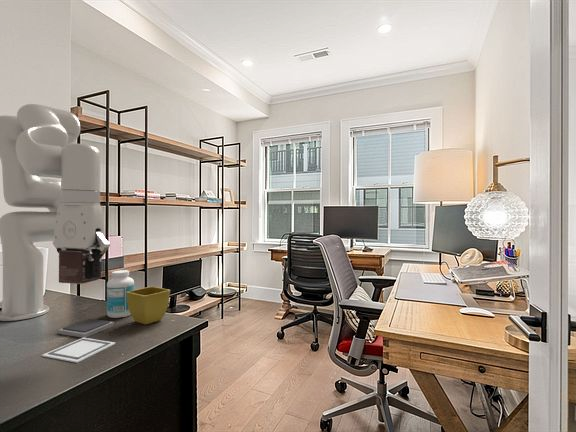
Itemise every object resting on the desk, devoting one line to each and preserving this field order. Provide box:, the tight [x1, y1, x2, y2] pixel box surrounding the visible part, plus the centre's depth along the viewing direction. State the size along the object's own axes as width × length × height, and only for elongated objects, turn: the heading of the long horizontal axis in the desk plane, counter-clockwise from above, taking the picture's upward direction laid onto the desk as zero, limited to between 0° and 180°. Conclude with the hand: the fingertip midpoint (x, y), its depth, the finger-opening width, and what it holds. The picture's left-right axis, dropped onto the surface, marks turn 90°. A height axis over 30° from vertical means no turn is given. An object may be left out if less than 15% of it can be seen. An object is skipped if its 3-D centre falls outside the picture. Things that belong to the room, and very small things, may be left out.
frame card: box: [41, 337, 116, 363], centre depth 72 cm, size 10×10×1 cm
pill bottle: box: [106, 269, 135, 319], centre depth 96 cm, size 8×7×14 cm
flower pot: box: [126, 285, 171, 325], centre depth 91 cm, size 9×9×9 cm
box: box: [58, 249, 102, 285], centre depth 72 cm, size 6×6×7 cm
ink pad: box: [57, 318, 115, 338], centre depth 84 cm, size 9×9×1 cm
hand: (80, 276), depth 72 cm, fingers closed on box, 6 cm apart
